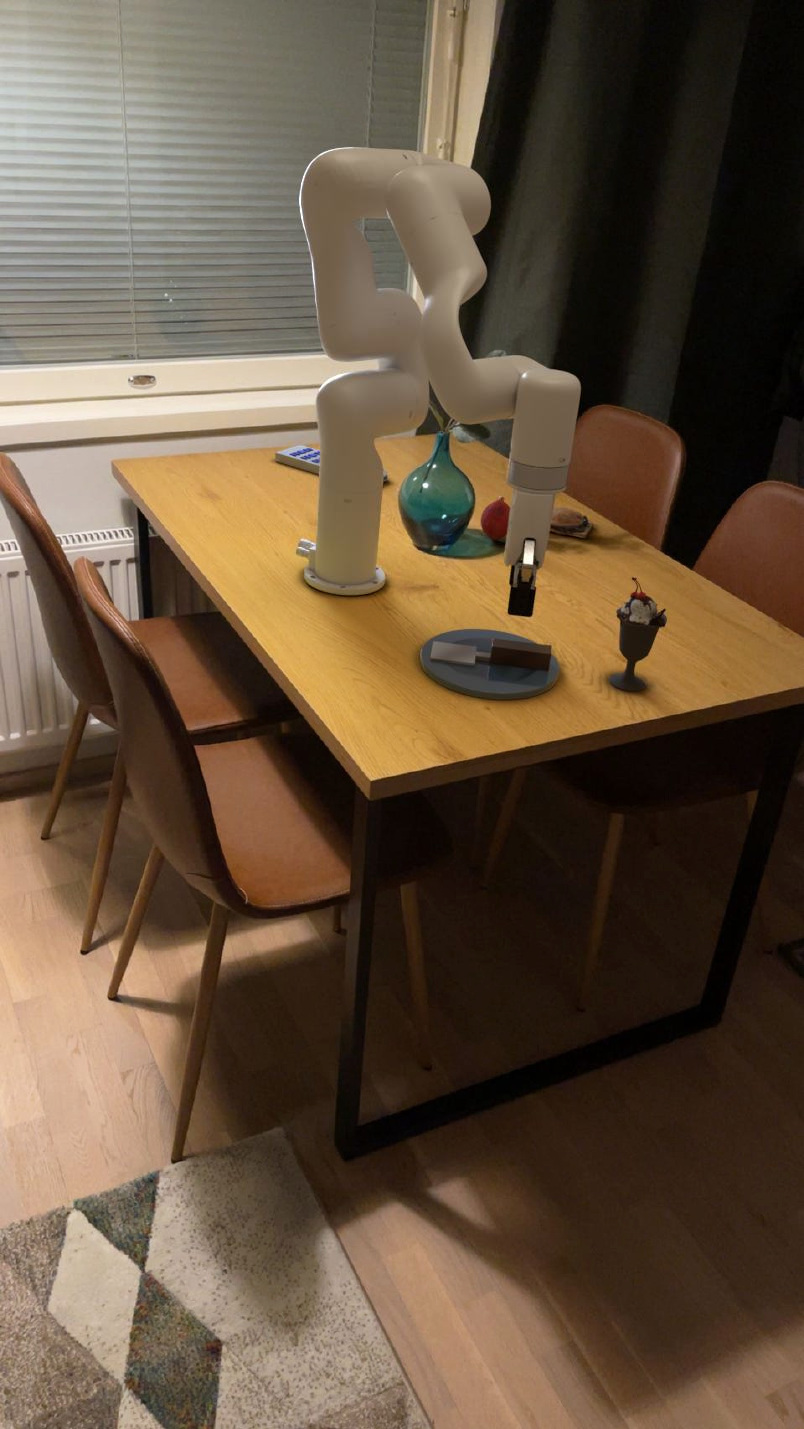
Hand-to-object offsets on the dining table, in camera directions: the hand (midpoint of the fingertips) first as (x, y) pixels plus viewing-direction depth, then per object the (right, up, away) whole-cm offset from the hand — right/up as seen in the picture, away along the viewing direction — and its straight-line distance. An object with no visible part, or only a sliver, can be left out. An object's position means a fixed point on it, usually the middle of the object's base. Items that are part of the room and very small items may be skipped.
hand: (520, 600), depth 148 cm
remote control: (-30, +33, +73) cm, 85 cm away
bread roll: (+13, +19, +56) cm, 61 cm away
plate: (-4, -8, +5) cm, 11 cm away
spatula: (-4, -8, +5) cm, 10 cm away
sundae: (+15, -11, +5) cm, 19 cm away
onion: (+1, +15, +47) cm, 49 cm away
